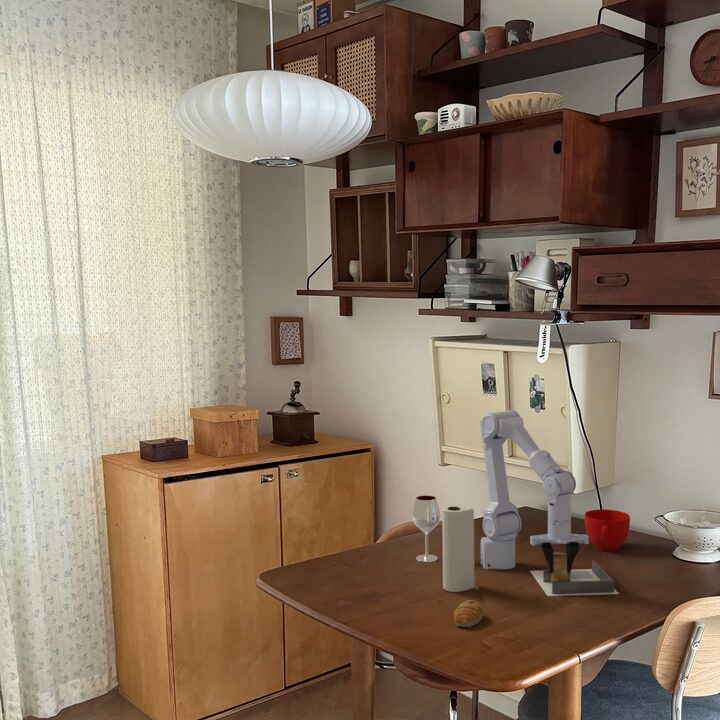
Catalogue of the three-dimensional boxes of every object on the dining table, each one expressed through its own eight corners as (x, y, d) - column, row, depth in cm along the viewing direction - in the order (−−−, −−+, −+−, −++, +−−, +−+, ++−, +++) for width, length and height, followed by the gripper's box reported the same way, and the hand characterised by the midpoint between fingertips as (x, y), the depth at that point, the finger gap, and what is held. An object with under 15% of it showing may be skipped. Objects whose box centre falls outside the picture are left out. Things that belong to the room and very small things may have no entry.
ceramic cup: (580, 556, 236) (580, 522, 235) (587, 539, 252) (587, 507, 251) (627, 560, 231) (627, 526, 231) (631, 543, 247) (631, 511, 246)
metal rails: (552, 594, 204) (552, 582, 204) (536, 572, 220) (536, 561, 220) (614, 592, 204) (614, 580, 204) (594, 571, 220) (594, 560, 220)
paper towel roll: (438, 589, 211) (437, 509, 209) (450, 583, 216) (449, 503, 214) (462, 595, 207) (462, 513, 205) (474, 588, 212) (473, 507, 210)
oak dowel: (553, 584, 206) (553, 557, 206) (549, 579, 210) (549, 552, 210) (569, 584, 206) (569, 557, 206) (564, 578, 210) (564, 552, 210)
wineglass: (446, 559, 235) (446, 498, 234) (424, 565, 230) (423, 502, 229) (428, 552, 242) (428, 493, 240) (407, 557, 237) (406, 497, 236)
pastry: (477, 631, 185) (476, 615, 185) (448, 628, 188) (447, 611, 187) (485, 616, 194) (485, 600, 194) (457, 612, 196) (457, 597, 196)
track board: (547, 599, 203) (547, 595, 203) (530, 574, 221) (530, 570, 221) (618, 597, 203) (618, 593, 203) (595, 572, 222) (595, 568, 222)
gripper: (534, 524, 203) (534, 577, 204) (592, 522, 203) (592, 575, 204) (528, 516, 210) (528, 568, 211) (584, 515, 210) (583, 566, 211)
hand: (559, 571), depth 208 cm, fingers closed on oak dowel, 4 cm apart
